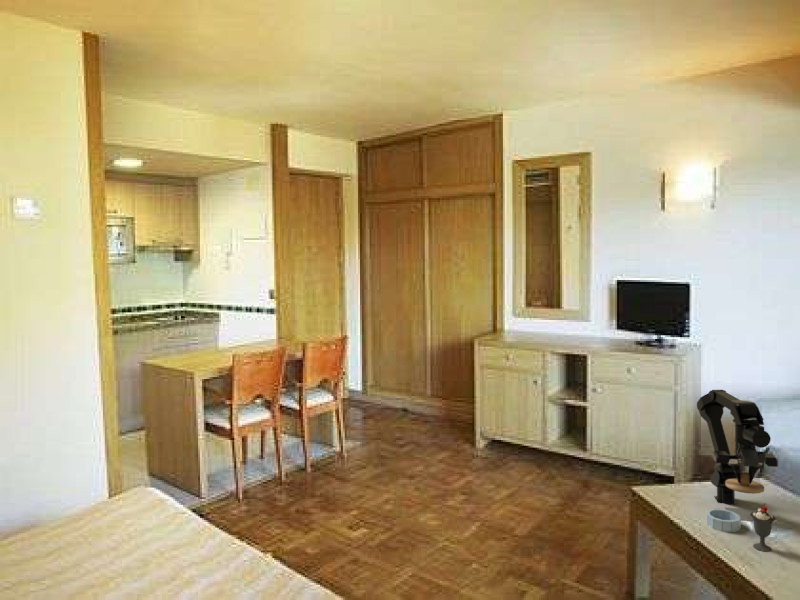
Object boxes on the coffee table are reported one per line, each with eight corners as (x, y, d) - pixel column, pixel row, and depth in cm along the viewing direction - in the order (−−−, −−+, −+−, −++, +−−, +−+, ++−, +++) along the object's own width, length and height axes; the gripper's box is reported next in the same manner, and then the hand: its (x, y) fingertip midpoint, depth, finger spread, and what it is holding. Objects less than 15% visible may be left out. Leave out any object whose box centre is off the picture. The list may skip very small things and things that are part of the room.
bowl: (702, 518, 200) (703, 507, 200) (735, 521, 197) (735, 510, 197) (709, 531, 190) (709, 520, 190) (744, 535, 188) (744, 523, 187)
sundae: (763, 554, 175) (763, 506, 174) (744, 544, 182) (745, 497, 181) (780, 551, 177) (781, 503, 176) (761, 541, 183) (762, 495, 182)
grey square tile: (724, 509, 207) (724, 507, 207) (756, 511, 204) (756, 509, 204) (732, 521, 198) (732, 519, 197) (765, 524, 195) (765, 522, 195)
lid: (721, 479, 207) (721, 466, 207) (758, 481, 204) (758, 468, 204) (730, 492, 196) (730, 478, 196) (769, 494, 193) (769, 480, 193)
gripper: (720, 444, 194) (720, 489, 195) (784, 447, 189) (783, 494, 190) (712, 434, 205) (712, 477, 206) (772, 437, 199) (772, 481, 200)
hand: (744, 482), depth 200 cm, fingers closed on lid, 3 cm apart
